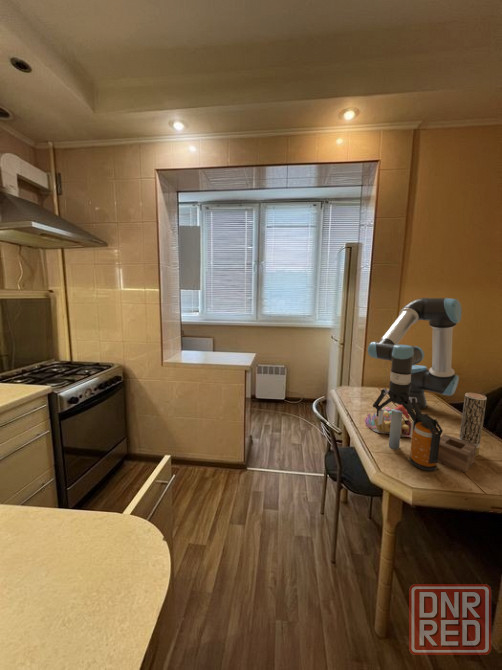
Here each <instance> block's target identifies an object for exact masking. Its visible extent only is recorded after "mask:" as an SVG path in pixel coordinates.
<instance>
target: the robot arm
mask: <svg viewBox="0 0 502 670" xmlns="http://www.w3.org/2000/svg"><path fill="white" fill-rule="evenodd" d="M462 309H463V308H462V305H461V302H460V301H459V300H458V299H457V298H456V299H455V298H449V297H445V298H442V297H440V298H439V297H437V298H436V297H435V298H434V297H422V298H417V299H414V300H413V301H411V302H410V301H409V303H407V304H406V305H404V306H403V307H402V308H401V309H400V311H398V316H397V318H396V319H395V321H394V322H393V323H392V324H391V326H390V327H389V328H388V329H387V331H386V332H385V333H384V334H383V335H382V337H381V338H380V339H379V341H371V342H370V343H369V345H368V346H367V352H368V355H369V357H371V358H374V359H377V360H379V359H380V360H384V361H388V362H389V361H390V362H391V363H390V365H391V366H390V376H389V377H390V378H389V379H390V381H389V388H388V389H389V390H387V388H383V389H381V392H380V394H379V396H378V397H377V398H376V400H375V401H374V403H373V405H372V407H373V408H375V409H376V412H377V416H378V425H380V424H382V421H383V409H382V408H383V407H384V408H385V407H387V405H389V403H391V402H392V403H393V404H396V405H403V407H404V408H405V409H406V411H407V412H408V415H409V416H410V418H411V420H412V421H411V432H410V437H409V438H411V439H412V432H413V430H414V429H415V425H416V424H417V423H419V422H423V421H421V418H420V417H419V415H421V414H423V412H422V409H426V408H427V403H428V401H427V399H426V395H425V391H428V392H431V393H436V394H439V395H443V396H449V397H450V396H452V395H454V394H455V392H456V389H457V387H458V384H459V381H460V380H459V379H460V376H459V375H458V374H455V369H453V368H452V361H453V360H452V359H453V358H452V357H453V329H454V328H455V327H456V326H457V324H459V323H460V322H461V320H462V314H463V312H462V311H463V310H462ZM418 321H426V322H427V321H428V325H429V327H430V328H432V336H431V337H432V344H431V345H432V347H431V348H432V350H431V355H432V357H431V358H432V359H431V363H432V365H431V366H432V367H429V369H428V367H427V366H426V365H420V364H419V363H421V362H423V360H424V358H425V351H424V350H423V349H422V347H419V346H416V345H414V346H413V345H408V344H399V343H400V342H401V341H402V340H403V338H404V337H405V335H406V333H408V331H409V330H410V328H411V327H412V326H413V325H414V324H416V323H417V322H418ZM417 364H419V365H417ZM386 395H388V397H389V398H387V399H386V400H385V401H384V402H382V400H384V398H385V396H386ZM381 402H382V403H381Z"/></svg>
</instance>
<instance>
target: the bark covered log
mask: <svg viewBox="0 0 502 670" xmlns="http://www.w3.org/2000/svg"><path fill="white" fill-rule="evenodd" d="M486 404H487V396H486V395H485V394H480V393H478V392H477V393H476V392H465V394H464V400H463V409H462V416H461V423H460V431H459V436H458V437H459V438H458V439H460V440H463V441H466V442H469V443H472V444H474V445H477V446H476V453H475V458H476V457H478V456H479V453H480V447H481V440H482V432H483V428H484V427H483V426H484V420H485V412H486Z"/></svg>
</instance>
